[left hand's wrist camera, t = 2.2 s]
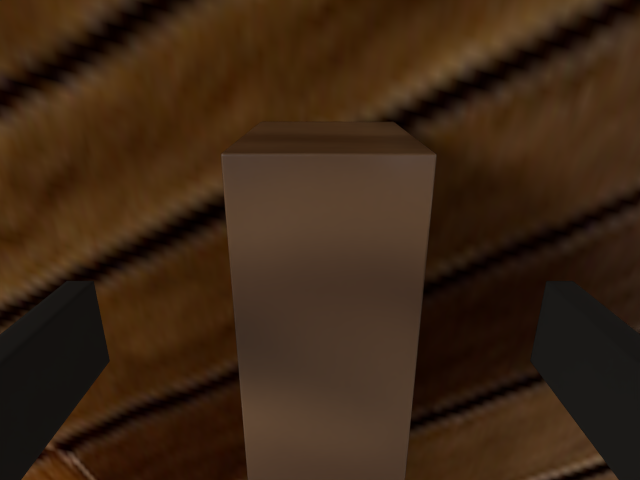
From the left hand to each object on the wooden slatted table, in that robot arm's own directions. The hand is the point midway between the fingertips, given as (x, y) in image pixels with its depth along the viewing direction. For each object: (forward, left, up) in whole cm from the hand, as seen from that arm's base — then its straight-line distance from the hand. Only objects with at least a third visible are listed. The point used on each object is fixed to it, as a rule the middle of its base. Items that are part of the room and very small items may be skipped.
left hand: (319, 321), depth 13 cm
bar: (+4, +7, -9) cm, 11 cm away
